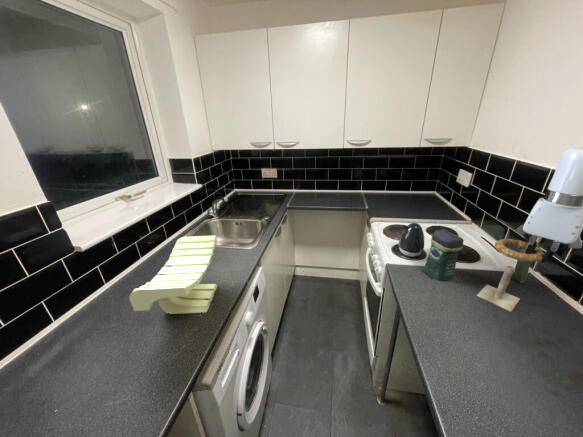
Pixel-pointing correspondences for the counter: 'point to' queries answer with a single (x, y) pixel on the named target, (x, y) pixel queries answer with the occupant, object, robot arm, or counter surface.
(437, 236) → the coffee jar
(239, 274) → the counter surface
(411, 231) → the black egg shaped dome
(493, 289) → the post
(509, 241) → the ring
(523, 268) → the vegetable
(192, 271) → the slatted lounge chair
